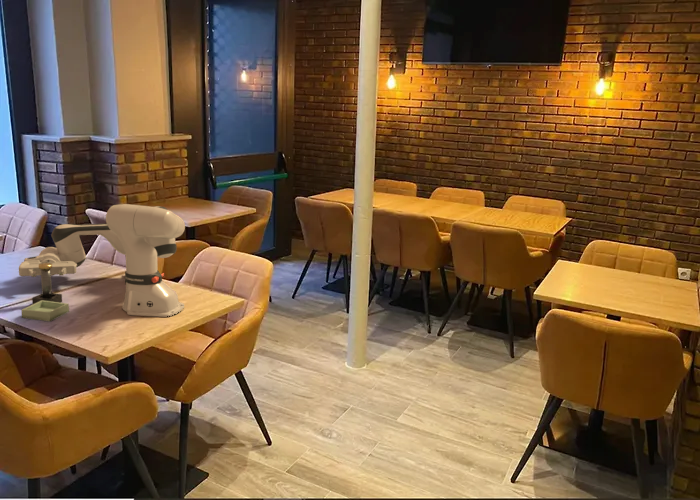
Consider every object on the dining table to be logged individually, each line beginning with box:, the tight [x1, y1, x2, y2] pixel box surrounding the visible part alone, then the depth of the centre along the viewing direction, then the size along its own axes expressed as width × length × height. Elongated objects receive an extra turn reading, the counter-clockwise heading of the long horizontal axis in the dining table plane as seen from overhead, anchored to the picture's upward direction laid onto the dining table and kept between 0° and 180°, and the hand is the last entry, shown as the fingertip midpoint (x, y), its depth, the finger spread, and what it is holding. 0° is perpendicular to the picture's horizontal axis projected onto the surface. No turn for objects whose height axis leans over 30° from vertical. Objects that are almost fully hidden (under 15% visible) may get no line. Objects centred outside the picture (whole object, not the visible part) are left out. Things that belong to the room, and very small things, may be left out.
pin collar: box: [31, 292, 63, 305], centre depth 213 cm, size 7×7×3 cm
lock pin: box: [39, 263, 53, 299], centre depth 212 cm, size 4×4×15 cm
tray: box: [21, 300, 70, 322], centre depth 203 cm, size 11×11×3 cm
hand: (47, 274), depth 221 cm, fingers open, 8 cm apart
